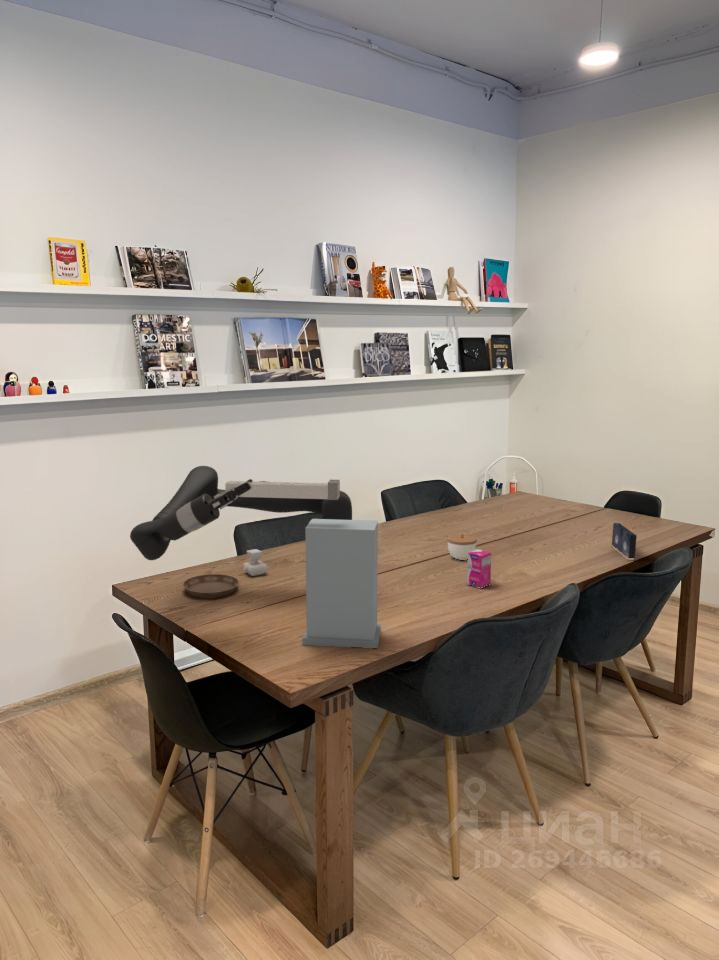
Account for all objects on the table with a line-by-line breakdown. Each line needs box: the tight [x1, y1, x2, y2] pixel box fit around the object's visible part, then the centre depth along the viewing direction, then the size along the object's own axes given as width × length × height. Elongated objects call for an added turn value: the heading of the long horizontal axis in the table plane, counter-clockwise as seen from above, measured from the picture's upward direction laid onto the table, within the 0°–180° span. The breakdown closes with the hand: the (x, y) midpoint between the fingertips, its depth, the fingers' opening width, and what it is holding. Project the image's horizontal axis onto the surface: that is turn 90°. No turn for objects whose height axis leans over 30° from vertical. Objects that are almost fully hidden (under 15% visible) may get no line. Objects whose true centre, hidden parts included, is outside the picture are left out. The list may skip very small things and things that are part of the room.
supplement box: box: [466, 548, 492, 588], centre depth 245 cm, size 6×6×12 cm
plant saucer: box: [182, 573, 240, 599], centre depth 240 cm, size 18×18×3 cm
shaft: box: [224, 478, 341, 500], centre depth 197 cm, size 30×4×4 cm, turn 84°
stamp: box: [242, 548, 269, 577], centre depth 256 cm, size 9×7×8 cm
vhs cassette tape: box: [611, 522, 638, 558], centre depth 282 cm, size 18×3×10 cm, turn 179°
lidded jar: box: [446, 533, 477, 559], centre depth 276 cm, size 11×11×9 cm
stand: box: [301, 518, 382, 649], centre depth 200 cm, size 20×12×32 cm, turn 84°
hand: (250, 483), depth 197 cm, fingers closed on shaft, 3 cm apart
